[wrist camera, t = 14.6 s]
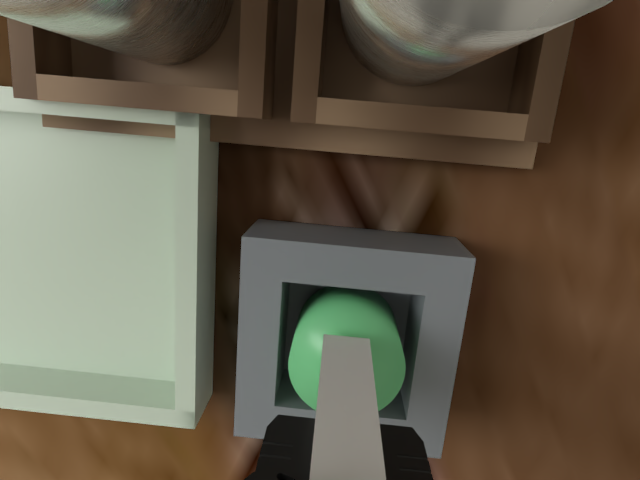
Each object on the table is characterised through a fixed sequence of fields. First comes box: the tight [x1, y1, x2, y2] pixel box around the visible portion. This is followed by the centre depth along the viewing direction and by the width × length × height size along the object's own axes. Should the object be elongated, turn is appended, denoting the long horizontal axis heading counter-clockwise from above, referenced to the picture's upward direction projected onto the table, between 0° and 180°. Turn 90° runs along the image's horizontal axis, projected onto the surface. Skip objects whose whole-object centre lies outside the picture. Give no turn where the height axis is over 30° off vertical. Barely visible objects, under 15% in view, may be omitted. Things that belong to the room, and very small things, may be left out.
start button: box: [288, 286, 406, 411], centre depth 17 cm, size 4×4×3 cm
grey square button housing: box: [234, 219, 476, 459], centre depth 18 cm, size 8×8×3 cm
